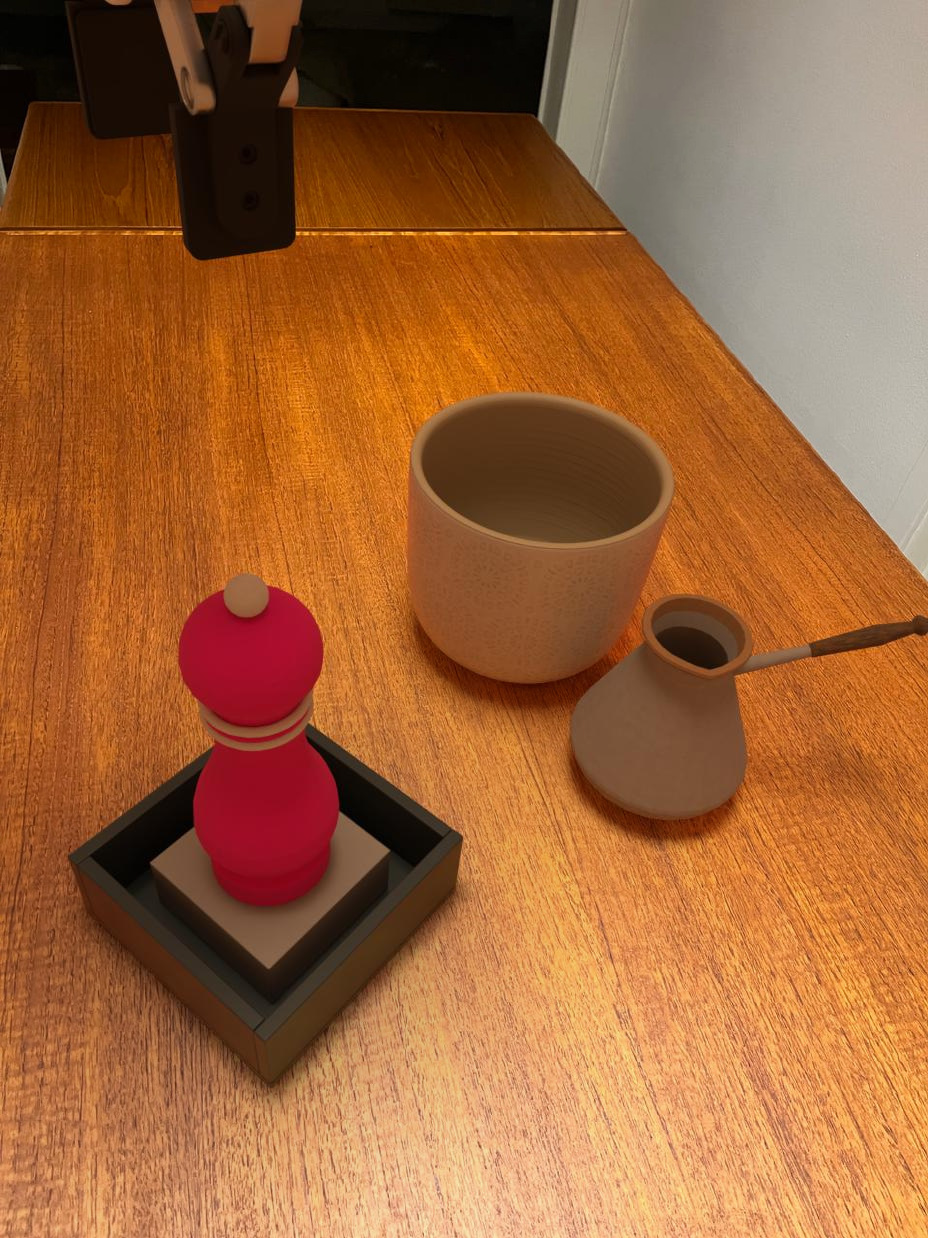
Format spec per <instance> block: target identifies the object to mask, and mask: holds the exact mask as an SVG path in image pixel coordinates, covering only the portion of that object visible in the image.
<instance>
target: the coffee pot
mask: <svg viewBox="0 0 928 1238" xmlns="http://www.w3.org/2000/svg"><path fill="white" fill-rule="evenodd" d="M640 623H641V624H640V625H641V635H642V636H643V639H644V640H643V641H642V642H641V643H640V644H639V645H638V646H637V647H635V648H634V649H633V650H632V651H631V652H630V653H628V654H627V655H626V656H625V657H624V658H622V660H621V661H619V662H618V663H617V664H615V666H614V667H612V668H611V669H610V670H609V671H607V672H606V673H605V674H604V675H603V676H601V678H599V679H598V680H597V681H596V682H595V683H594V684H593V685H591V686H590V687H589V688H588V689H587V690H586V691H585V693H584V694H582V696H581V697H580V699H578V701H577V703H576V704H575V707H574V709H573V712H572V715H571V717H570V720H569V722H570V723H569V741H570V745H571V749H572V751H573V755H574V758H575V761H576V764H577V765H578V767H579V768H580V770H581V772H582V774H583V775H584V777H585V778H586V780H587V781H588V783H589V784H590V785H591V786H592V787H593V788H594V789H595V790H596V791H597V792H598V793H599V794H601V796H602V797H604V799H606V800H608V801H610V802H611V803H612V804H614V805H616V806H618V807H619V808H621V809H623V810H624V811H628V812H630V813H633V814H635V815H639V816H641V817H644V818H648V819H653V820H654V819H655V820H663V821H678V820H679V821H680V820H690V819H691V820H692V819H693V818H696V817H699V816H702V815H705V814H707V813H710V812H712V811H714V810H716V809H718V808H720V806H722V805H724V804H725V803H726V802H727V801H729V800H730V799H731V798H733V796H735V794H736V792H737V791H738V789H739V788H740V786H741V785H742V783H743V781H744V780H745V777H746V772H747V766H748V761H749V755H748V749H747V743H746V742H747V741H746V736H745V730H744V725H743V724H744V723H743V718H742V712H741V707H740V701H739V696H738V690H737V685H736V679H735V677H736V676H741V675H744V674H749V673H752V672H756V671H760V670H763V669H768V668H773V667H776V666H780V665H785V664H789V663H793V662H796V661H800V660H804V659H807V658H820V657H824V656H830V655H835V654H843V653H847V652H854V651H859V650H865V649H871V648H876V647H882V646H884V645H887V644H889V643H892V642H894V641H895V642H896V641H897V640H900V639H903V638H906V637H908V636H911V635H913V634H915V635H917V636H920V637H924V636H926V635H927V634H928V617H926V616H923V615H921V614H917V615H916V616H913V618H912V619H911V621H909V620H908V621H898V622H890V623H889V622H888V623H876V624H872V625H869V626H865V627H862V628H858V629H854V630H851V631H848V632H847V631H846V632H844V633H841V634H837V635H833V636H829V637H825V638H822V639H819V640H815V641H813V642H808V644H804V645H799V646H795V647H790V648H784V649H779V650H773V651H770V652H764V653H760V654H755V655H752V654H753V650H754V639H753V634H752V631H751V629H750V627H749V625H748V624H747V622H746V621H745V620H744V619H743V617H741V615H740V614H739V613H738V612H736V611H735V610H734V609H733V608H731V607H730V606H728V605H726V604H725V603H723V602H721V601H718V600H716V599H715V598H711V597H708V596H705V595H702V594H695V593H688V592H687V593H672V594H668V595H666V596H665V595H664V596H662V597H660V598H658V599H657V600H655V601H653V602H651V604H650V605H649V606H648V607H647V608H646V609H645V610H644V612H643V615H642V618H641V622H640Z"/></svg>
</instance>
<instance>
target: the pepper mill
mask: <svg viewBox="0 0 928 1238" xmlns="http://www.w3.org/2000/svg"><path fill="white" fill-rule="evenodd" d="M324 654H325V651H324V642H323V637H322V633H321V629H320V627H319V625H318V622H317V621H316V618H315V617H314V615H313V613H312V612H311V610H310V609H309V608H308V607H307V606H306V605H305V604H304V603H303V602H302V601H301V600H300V599H299V598H297V597H296V596H294V595H293V594H292V593H290V592H287V591H285V590H284V589H281V588H280V587H277V586H274V585H273V586H272V585H268V584H266V582H265V581H264V580H263V579H262V578H261V577H260V576H258V575H256V574H253V573H248V572H244V573H239V574H237V575H234V576H232V577H231V578H230V579H229V581H227V583H226V585H225V587H224V588H223V589H221V590H219V591H216V592H214V593H212V594H210V595H208V596H207V597H205V599H203V600H202V601H201V602H200V603H199V604H198V605H196V607H195V608H194V609H193V610H192V611H191V612H190V614H189V615H188V617H187V619H186V620H185V622H184V624H183V627H182V629H181V633H180V636H179V639H178V666H179V670H180V671H179V672H180V675H181V678H182V681H183V683H184V684H185V686H186V687H187V689H188V690H189V692H190V693H191V695H192V697H194V699H196V701H197V706H198V713H199V718H200V722H201V724H202V726H203V728H204V730H205V731H206V732H207V734H208V735H209V736H210V737H211V738H213V740H214V744H213V746H214V748H213V752H212V754H211V756H210V758H209V760H208V762H207V763H206V765H205V767H204V769H203V771H202V772H201V774H200V777H199V780H198V784H197V788H196V792H195V796H194V800H193V808H194V827H195V831H196V835H197V837H198V839H199V841H200V844H201V845H202V847H203V849H204V850H205V851H206V852H207V854H208V855H209V856H210V857H211V863H212V868H213V872H214V875H215V878H216V879H217V881H218V883H219V884H220V886H221V887H222V888H223V889H224V890H225V891H226V892H227V893H228V894H229V895H231V896H232V897H234V898H235V899H237V900H239V901H241V902H244V903H247V904H250V905H256V906H264V907H265V906H276V905H282V904H286V903H288V902H291V901H294V900H296V899H298V898H299V897H301V896H303V895H305V894H306V893H308V892H309V891H310V890H311V889H312V888H314V887H315V885H316V884H317V883H318V882H319V881H320V880H321V878H322V877H323V875H324V873H325V871H326V869H327V867H328V863H329V860H330V851H331V849H330V840H331V838H332V836H333V834H334V831H335V829H336V826H337V822H338V817H339V799H338V792H337V787H336V783H335V780H334V778H333V776H332V773H331V771H330V770H329V768H328V766H327V764H326V762H325V761H324V759H323V758H322V757H321V755H320V754H319V753H318V752H317V751H316V750H315V749H314V748H313V747H312V746H311V745H310V744H309V743H308V742H307V739H306V735H305V729H304V728H305V727H306V726H307V724H308V723H310V721H311V719H312V716H313V713H314V709H315V708H314V707H315V700H314V688H315V685H316V683H317V682H318V680H319V678H320V676H321V673H322V669H323V664H324Z"/></svg>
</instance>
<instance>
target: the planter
mask: <svg viewBox="0 0 928 1238" xmlns="http://www.w3.org/2000/svg"><path fill="white" fill-rule="evenodd" d="M674 475H675V474H674V471H673V468H672V465H671V463H670V461H669V459H668V457H667V455H666V454H665V452H664V451H663V450H662V448H661V447H660V446H659V444H657V442H656V441H655V440H654V439H653V438H652V437H651V436H650V435H649V434H648V433H646V432H645V431H644V430H642V428H640V427H639V426H637V425H636V424H634V423H633V422H631V421H630V420H628V419H627V418H625V417H623V416H621V415H620V414H617V413H615V412H614V411H611V410H609V409H606V408H604V407H602V406H599V405H597V404H594V403H591V402H587V401H585V400H581V399H578V398H575V397H570V396H565V395H560V394H555V393H547V392H537V391H503V392H492V393H486V394H485V393H484V394H481V395H476V396H472V397H468V398H465V399H462V400H459V401H456V402H454V403H452V404H450V405H448V406H445V407H444V408H442V409H440V410H439V411H437V412H436V413H434V414H433V415H432V416H430V417H429V418H428V419H427V420H426V421H425V422H424V423H423V424H422V425H421V426H420V427H419V429H418V431H417V432H416V434H415V435H414V438H413V440H412V441H411V446H410V451H409V463H408V482H407V483H408V484H407V485H408V486H407V525H406V526H407V527H406V528H407V530H406V564H407V567H406V569H407V578H408V579H407V580H408V587H409V594H410V597H411V598H410V600H411V603H412V607H413V609H414V612H415V615H416V618H417V620H418V622H419V624H420V626H421V627H422V629H423V631H424V632H425V634H426V635H427V637H428V638H429V640H431V642H432V643H433V644H434V645H435V646H436V647H437V648H438V649H439V650H440V651H441V652H442V653H443V654H444V655H446V657H448V658H450V660H452V661H454V662H455V663H457V664H458V665H459V666H462V667H463V668H465V669H467V670H469V671H471V672H473V673H475V674H478V675H480V676H482V677H486V678H489V679H492V680H496V681H501V682H505V683H506V682H507V683H513V684H541V683H543V684H544V683H549V682H555V681H558V680H564V679H567V678H570V677H572V676H575V675H577V674H579V673H581V672H583V671H585V670H587V669H589V668H590V667H592V666H593V665H595V664H596V663H598V662H599V661H600V660H601V659H603V658H604V657H605V656H606V655H607V654H608V653H609V652H611V650H612V649H613V648H614V647H615V646H616V644H618V642H619V640H620V639H621V637H622V636H623V635H624V633H625V631H626V630H627V627H628V625H629V623H630V621H631V620H632V618H633V615H634V614H635V611H636V609H637V606H638V604H639V601H640V599H641V597H642V594H643V591H644V589H645V586H646V583H647V580H648V578H649V575H650V571H651V568H652V565H653V562H654V559H655V555H656V554H657V550H658V547H659V545H660V541H661V539H662V535H663V532H664V530H665V527H666V523H667V521H668V518H669V515H670V511H671V507H672V504H673V500H674V497H675V496H674V495H675V488H676V481H675V476H674Z"/></svg>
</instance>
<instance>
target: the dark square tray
mask: <svg viewBox="0 0 928 1238" xmlns="http://www.w3.org/2000/svg"><path fill="white" fill-rule="evenodd" d="M304 729H305V735H306V739H307V742H308V743H309V744H310V745H311V746H312V747H313V748H314V749H315V750H316V751H317V752H318V753H319V754H320V755H321V757H322V758H323V759H324V761H325V762H326V764H327V766H328V768H329V770H330V771H331V773H332V776H333V778H334V780H335V783H336V787H337V792H338V799H339V811H340V812H341V813H342V814H344V815H345V816H346V817H348V818H349V819H350V820H352V821H353V822H354V823H355V824H357V825H358V826H359V827H361V828H362V829H363V830H364V831H366V832H367V833H368V834H370V835H371V836H372V837H374V838H375V839H376V840H377V841H379V842H380V843H381V844H383V845H384V846H385V847H387V848H388V849H389V850H390V862H389V878H388V888H387V889H386V890H385V891H384V892H383V893H382V894H381V896H380V897H379V898H378V899H377V900H376V901H375V902H374V903H373V904H372V905H371V906H370V907H369V908H368V909H367V910H366V911H365V912H364V913H363V914H362V915H361V916H360V917H359V918H358V919H357V920H356V921H355V922H354V923H353V924H352V925H351V926H350V927H349V928H348V929H347V930H346V931H345V932H344V933H343V934H342V935H341V936H340V937H339V938H338V939H337V940H336V941H335V942H334V943H333V944H332V945H331V946H330V947H329V948H328V949H327V950H326V951H325V952H324V953H323V954H322V955H321V956H320V957H319V958H318V959H317V960H316V961H315V962H314V963H313V964H312V965H311V966H310V967H309V968H308V969H307V970H306V971H305V972H304V973H303V974H302V975H301V976H300V977H299V978H298V979H297V980H296V981H295V982H294V983H293V984H292V985H291V987H290V988H289V989H288V990H287V991H286V992H285V993H284V994H283V995H282V996H281V997H280V998H279V999H278V1000H277V1001H276V1002H275V1003H274V1004H272V1003H271V1002H269V1001H268V1000H267V999H266V998H265V997H264V996H263V995H262V994H261V993H260V992H259V991H257V990H256V989H255V988H254V987H253V986H252V985H251V984H250V983H249V982H248V981H246V980H245V979H244V978H243V977H242V976H241V975H240V974H239V973H238V972H237V971H236V970H234V969H233V968H232V967H231V966H230V965H229V964H228V963H227V962H226V961H225V960H224V959H222V958H221V957H220V956H219V955H218V954H217V953H216V952H215V951H214V950H213V949H212V948H210V947H209V946H208V945H207V944H206V943H205V942H204V941H203V940H202V939H201V938H199V937H198V936H197V935H196V934H195V933H194V932H193V931H192V930H191V929H190V928H189V927H187V926H186V925H185V924H184V923H183V922H182V921H181V920H180V919H179V918H178V917H177V916H175V915H174V914H173V913H172V912H171V911H170V910H169V909H168V908H167V907H166V906H164V905H163V904H162V903H161V902H160V900H159V896H158V892H157V888H156V885H155V881H154V877H153V873H152V869H151V865H150V862H151V861H153V860H154V859H155V858H156V857H158V856H159V855H160V854H161V853H162V852H164V851H165V850H166V849H167V848H169V847H170V846H171V845H172V844H174V843H175V842H176V841H177V840H178V839H180V838H181V837H182V836H183V835H185V834H186V833H187V832H188V831H190V830H191V829H192V828H193V827H194V808H193V800H194V796H195V792H196V788H197V784H198V780H199V777H200V774H201V772H202V771H203V769H204V767H205V765H206V763H207V762H208V760H209V758H210V756H211V754H212V752H213V748H214V745H212V746H211V747H210V748H208V749H207V750H205V751H204V752H203V753H202V754H200V755H198V757H196V758H195V759H194V760H193V761H190V763H188V764H187V765H186V766H185V767H183V768H182V769H180V770H179V771H178V772H177V773H175V774H173V775H172V776H171V777H170V778H168V779H167V780H166V781H164V783H162V784H161V785H159V786H158V787H157V788H156V789H154V790H152V792H150V793H149V794H148V795H146V796H145V797H144V798H142V799H140V801H139V802H137V803H136V804H134V805H133V806H131V808H129V809H128V810H127V811H125V812H124V813H122V814H121V815H120V816H118V817H117V818H116V819H115V820H113V821H112V822H111V823H109V824H107V826H105V827H104V828H103V829H102V830H100V831H99V832H97V833H96V834H95V835H93V836H92V837H91V838H90V839H87V841H86V842H84V843H83V844H82V845H80V846H78V848H76V849H75V850H74V851H72V852H71V853H70V854H69V855H67V860H68V862H69V865H70V867H71V870H72V873H73V876H74V878H75V882H76V884H77V887H78V890H79V892H80V895H81V898H82V900H83V903H84V906H85V909H86V912H87V913H88V914H89V915H90V916H92V918H94V919H95V920H96V922H98V923H99V924H100V925H101V926H102V927H103V928H104V929H105V930H106V931H107V932H108V933H109V934H110V935H111V936H113V938H115V940H117V942H119V943H120V944H121V945H122V946H123V948H125V949H126V950H127V951H128V952H129V953H130V954H131V955H132V956H133V957H134V958H135V959H136V960H137V961H138V962H139V963H140V964H141V965H142V966H144V967H145V968H146V969H147V970H148V972H150V973H151V974H152V976H154V977H155V978H156V979H157V980H158V981H159V982H160V983H161V984H162V985H163V986H164V987H165V988H166V989H168V991H170V992H171V994H173V996H175V997H176V999H178V1000H179V1002H181V1003H182V1005H184V1006H185V1007H186V1008H187V1009H188V1010H189V1011H190V1012H191V1013H192V1014H193V1015H194V1016H196V1018H198V1020H199V1021H200V1022H202V1023H203V1024H204V1025H205V1026H206V1027H207V1028H208V1029H209V1030H210V1031H211V1032H212V1033H213V1034H214V1035H215V1036H216V1037H217V1038H218V1039H219V1040H220V1041H221V1042H222V1043H223V1044H224V1045H225V1046H227V1048H228V1049H230V1051H231V1052H233V1053H234V1054H235V1055H236V1056H237V1057H238V1058H239V1059H240V1060H241V1061H242V1062H243V1063H244V1064H245V1065H246V1066H247V1067H248V1068H249V1069H250V1070H251V1071H252V1072H253V1073H254V1074H255V1075H257V1076H258V1077H259V1078H260V1079H261V1080H262V1082H264V1083H265V1084H266V1085H267V1086H268V1087H269V1088H271V1089H272V1088H274V1086H276V1084H277V1083H278V1082H279V1081H280V1080H281V1079H282V1078H283V1077H284V1075H286V1074H287V1072H288V1071H289V1070H290V1069H291V1068H292V1067H293V1066H294V1065H295V1063H297V1062H298V1060H299V1059H300V1058H301V1057H302V1056H303V1055H304V1054H305V1053H306V1052H307V1051H308V1050H309V1049H310V1047H312V1045H313V1044H314V1043H315V1042H316V1041H317V1040H318V1039H319V1038H320V1037H321V1035H322V1034H323V1033H324V1032H325V1031H326V1030H327V1029H328V1028H329V1027H330V1026H331V1025H332V1024H333V1022H335V1020H336V1019H337V1018H338V1017H340V1015H341V1014H342V1013H343V1012H344V1011H345V1009H347V1008H348V1006H350V1005H351V1003H352V1002H353V1001H354V1000H355V999H356V998H357V996H359V995H360V993H361V992H362V991H363V990H364V989H365V988H366V987H367V986H368V985H369V983H371V982H372V981H373V980H374V978H376V976H377V975H378V974H379V973H380V972H381V971H382V970H383V969H384V968H385V967H386V965H387V964H388V963H389V962H390V961H391V960H392V959H393V958H394V957H395V956H396V955H397V954H398V952H400V950H401V949H402V948H403V947H404V946H405V945H406V944H407V943H408V941H410V940H411V938H413V936H414V935H415V934H416V933H417V932H418V931H419V930H420V929H421V927H423V925H425V923H426V922H427V921H428V920H429V919H430V918H431V917H432V916H433V915H434V914H435V913H436V912H437V910H438V909H439V908H440V907H441V906H442V905H443V904H444V903H445V902H446V900H447V899H448V898H449V897H450V896H451V895H452V894H453V893H454V892H455V891H456V889H457V881H458V875H459V873H458V872H459V869H460V864H461V863H460V862H461V857H462V850H463V842H464V836H463V835H462V834H461V833H460V832H458V831H457V830H455V829H454V828H453V827H451V826H450V825H449V824H447V823H446V822H444V821H443V820H442V819H440V818H439V817H437V816H436V815H435V814H433V812H431V811H429V809H427V808H425V807H424V806H423V805H421V803H419V802H417V801H416V800H415V799H413V798H412V797H410V796H409V795H408V794H406V793H405V792H404V791H403V790H400V789H399V788H398V787H397V786H396V785H394V784H393V783H392V782H390V781H389V780H387V779H386V778H385V777H383V776H381V775H380V774H379V773H378V772H376V771H375V770H374V769H372V768H371V767H369V766H368V764H365V763H364V762H363V761H362V760H360V759H359V758H357V757H356V756H355V755H353V754H352V753H350V752H349V751H348V750H347V749H345V748H344V747H342V746H341V745H340V744H338V743H337V742H336V741H334V740H333V739H331V738H330V737H329V736H327V735H326V734H325V733H323V732H322V731H321V730H319V729H318V728H317V727H315V726H314V725H313V724H311V723H310V722H309V723H308V724H307V726H306V727H305V728H304Z"/></svg>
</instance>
